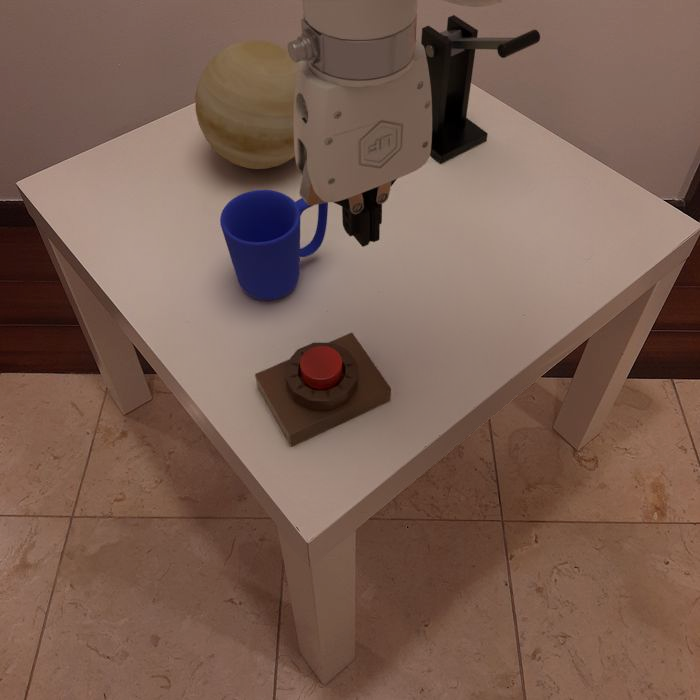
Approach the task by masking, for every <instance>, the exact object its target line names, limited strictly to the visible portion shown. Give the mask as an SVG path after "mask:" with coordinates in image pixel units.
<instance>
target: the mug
mask: <svg viewBox="0 0 700 700" xmlns="http://www.w3.org/2000/svg"><path fill="white" fill-rule="evenodd" d="M314 206H315V205H311V206H309V205H307V203H306V202H305V201H304V200H303V198H302V197H300V198H299V199H297V200H296V201H295V200H294V199H293V198H291V197H290V196H288V195H286V194H285V193H282V192H279V191H277V190H271V189H256V190H250V191H247V192H243V193H241V194H239V195H237V196H235V197H233V198H232V199H231V200H229V201H228V203H227V204H226V205H225V206H224V208H223V209H222V211H221V214H220V218H219V220H220V221H219V222H220V228H221V230H222V231H221V232H222V234H223V237H224V240H225V243H226V247H227V250H228V253H229V257H230V260H231V263H232V266H233V270H234V272H235V277H236V279H237V282H238V284H239V286H240V287H241V290H243V292H245V294H247V295H249V296H250V297H252V298H254V299H257V300H262V301H273V300H277V299H280V298H282V297H285V296H287V295H288V294H289V293H291V292H292V291H293V289H294V288H295V287H296V285H297V283H298V280H299V277H300V270H301V269H300V265H301V264H300V262H301V260H300V259H301V258H306V257H309V256H311V255H313V254H314V253H315V252H317V251H318V250H319V248H321V246H322V244H323V242H324V239H325V236H326V232H327V231H326V230H327V225H328V214H329V213H328V212H329V211H328V209H329V202H327V203H322V204H317V207H318V208H317V221H316V222H317V223H316V230H315V233H314V236H313V238H312V239H311V241H310V242H309V243H308V244H307V245H305V246H303V247H301V216H302V214H303V213H304V212H305V211H306V210H307V209H309V208H312V207H314Z"/></svg>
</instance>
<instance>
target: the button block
mask: <svg viewBox="0 0 700 700" xmlns="http://www.w3.org/2000/svg"><path fill="white" fill-rule="evenodd" d="M316 346H327V347H330V348H333V349H334V350H336V351H337V352H338V353H339V354H340V356H341V358H342V377H341V379H340V381H339V382H338V383H337V384H336V385H335V386H333V387H331V388H329V389H324V390H319V389H314V388H311V387H309V386H308V385H307V384H306V383H305V382H304V381H303V379H302V376H301V368H300V360H301V358H302V356H303V354H304V353H305V352H306V351H307V350H309V349H311V348H313V347H316ZM254 377H255V382H256V387H257V389H258V390H259V392H260V395H261V397H262V398H263V400H264V401H265V403H266V405H267V406H268V408H269V411H270V412H271V414H272V415H273V418H275V421H276V423H277V425H278V426H279V428H280V429H281V431H282V433H283V435H284V437H285V438H286V440H287V442H288V444H289V446H290V447H295V446H296V445H299V444H301V443H303V442H305V441H307V440H309V439H311V438H313V437H316V436H318V435H320V434H322V433H325V432H326V431H329V430H330V429H332V428H336V427H337V426H339V425H342V424H344V423H346V422H348V421H350V420H353V419H354V418H356V417H358V416H361V415H363V414H365V413H367V412H369V411H372V410H373V409H375V408H377V407H380V406H381V405H384V404H386V403H389V402H391V395H392V388H391V386H390V385H389V383H388V382H387V380H386V379H385V377H384V376H383V375H382V373H381V372H380V370H379V368H378V367H377V366H376V365H375V363H374V362H373V360H372V359H371V357H370V356H369V355H368V353H367V352H366V350H365V349H364V348H363V346H362V344H361V343H360V342H359V340H358V339H357V337H356V335H355V334H354V333H353V332H349V333H347V334H345V335H343V336H340V337H338V338H336V339H333V340H331V341H329V342H312V343H309V344H307V345H304V346H302V347H299V348H298V349H296V351H295V352H294V353H293V355H292V356H291V357H290V358H289V359H287V360H285V361H282V362H279V363H278V364H275V365H273V366H270V367H268V368H266V369H264V370H261V371H259V372H256V373H255V374H254Z"/></svg>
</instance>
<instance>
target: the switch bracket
mask: <svg viewBox="0 0 700 700" xmlns="http://www.w3.org/2000/svg"><path fill="white" fill-rule="evenodd" d="M446 30H461V32H462V38H478V35H479V34H478V33H479V29H476V28H475V27H473V26H472V25H471V24H469V23H467V22H466V21H464V20H463V19H461V18H460V17H458V16H457V15H455V14H453V15H450V16H448V17H447V24H446ZM420 39H421V40H420V43H421V44H422V45H423V46H424V48H425V53H426V58H427V63H428V70H429V77H430V85H431V97H432V143H431V152H430V156H429V157H431V158H432V159H434V160H435V161H437V162H438V163H439V165H440V164H443V163H445V162H446V161H449V160H451V159H453V158H455V157H457V156H459V155H461V154H463V153H465V152H467V151H469V150H471V149H473V148H475V147H477V146H479V145H482V144H483V143H484V142H487V140H488V135H489V134H488V132H487V131H485V130H484V129H482V128H481V127H480V126H479V125H477V124H475V122H473V121H472V120H470V119H469V118H468V116H467V115H468V107H469V101H470V93H471V85H472V78H473V71H474V64H475V56H476V49H464V51H462V52H460V53H458V54H455V55H453V56H451V50H452V41H451V40H450V39H448V38H447V37H445V36H444V35H442V34H441V32H439V31H437V30H436V29H435V28H433V27H432V26H430V25H427V26H423V27H422V28H421V38H420Z"/></svg>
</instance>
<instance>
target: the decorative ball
mask: <svg viewBox="0 0 700 700" xmlns="http://www.w3.org/2000/svg"><path fill="white" fill-rule="evenodd" d="M298 66H299V62H296V63H294V62H293V61H292V60H291V58H290V55H289V52H288V49H286V48H285V47H282V46H280V45H278V44H276V43H273V42H270V41H266V40H261V39H260V40H257V39H252V40H242V41H239V42H236V43H233V44H231V45H229V46H226V47H224V48H223V49H221V50H220V51H219V52H218V53H216V54H215V55H214V56H213V57H212V58H211V59H210V60H209V61H208V63H207V64H206V66H205V67H204V68H203V70H202V72H201V75H200V77H199V79H198V83H197V86H196V90H195V96H194V97H195V98H194V99H195V100H194V101H195V114H196V119H197V122H198V125H199V129H200V131H201V133H202V135H203V136H204V138H205V141H207V142H208V144H209V145H210V147H212V148H213V150H214V151H215V152H216V153H217V154H218V155H219V156H221V157H223V158H224V159H226V160H227V161H228V162H231V163H232V164H235V165H237V166H239V167H243V168H246V169H250V170H251V169H252V170H265V169H266V170H267V169H270V168H276V167H278V166H282V165H284V164H285V163H287V162H289V161H291V160H293V159H295V150H294V118H293V117H294V96H295V86H296V78H297V71H298Z"/></svg>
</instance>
